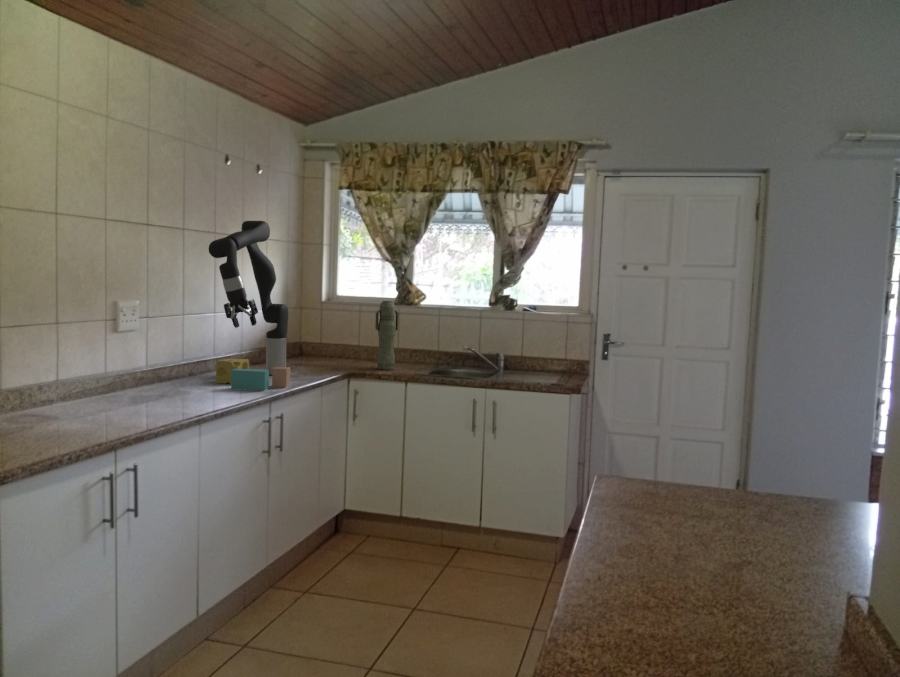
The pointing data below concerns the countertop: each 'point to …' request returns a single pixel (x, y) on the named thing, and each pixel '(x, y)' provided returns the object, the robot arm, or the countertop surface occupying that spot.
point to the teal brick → (249, 379)
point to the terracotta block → (281, 376)
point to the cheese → (229, 368)
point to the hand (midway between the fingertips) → (245, 326)
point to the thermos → (386, 335)
